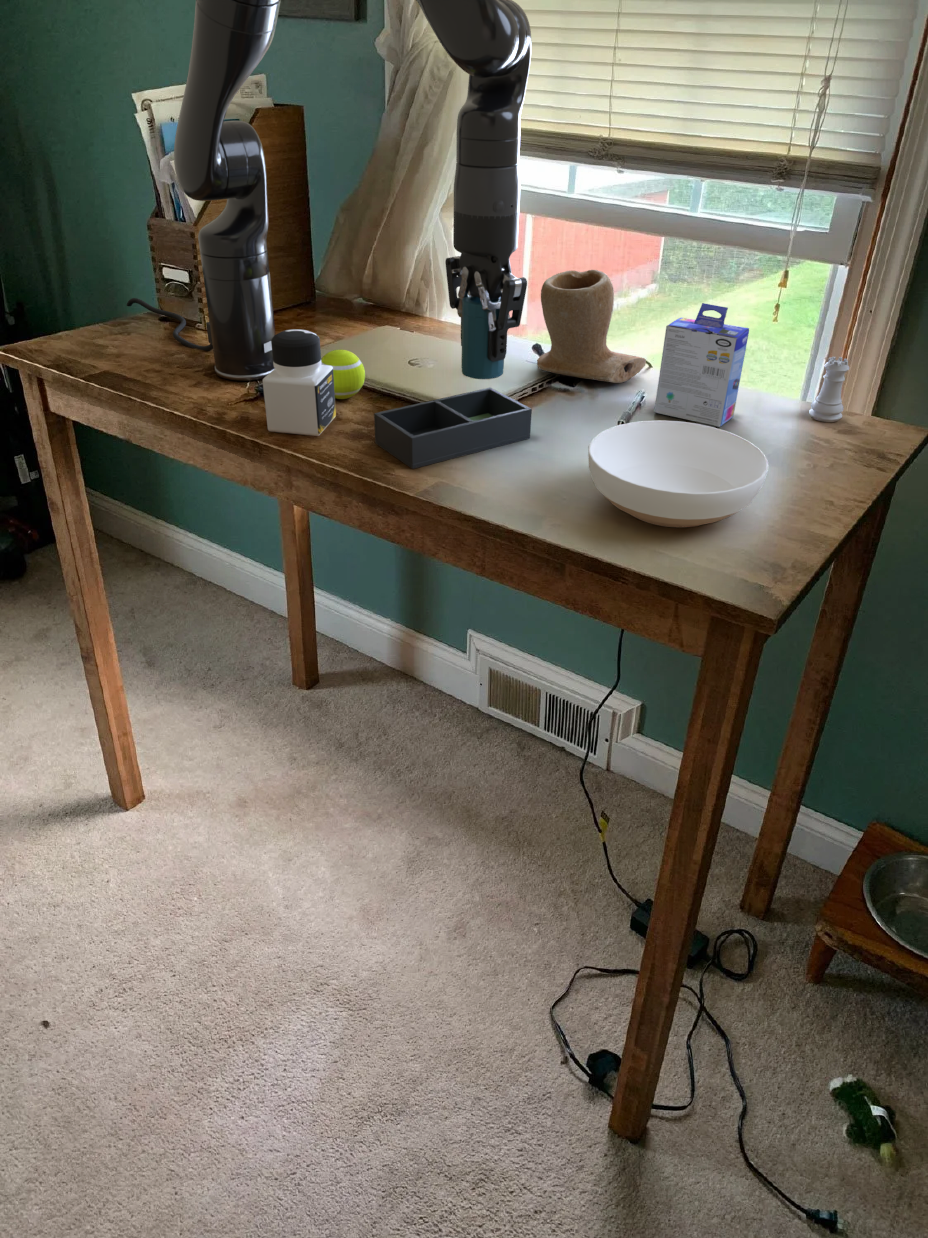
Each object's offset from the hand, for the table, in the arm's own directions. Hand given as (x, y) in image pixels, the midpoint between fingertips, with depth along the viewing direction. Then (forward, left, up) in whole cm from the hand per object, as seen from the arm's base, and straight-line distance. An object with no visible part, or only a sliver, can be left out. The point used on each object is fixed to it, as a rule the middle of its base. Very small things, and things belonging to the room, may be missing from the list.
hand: (482, 352), depth 117 cm
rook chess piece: (+20, +44, -11) cm, 49 cm away
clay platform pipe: (-10, +26, -11) cm, 30 cm away
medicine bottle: (-15, -18, -11) cm, 26 cm away
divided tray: (0, -4, -11) cm, 12 cm away
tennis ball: (-21, -9, -11) cm, 25 cm away
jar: (0, 0, -2) cm, 2 cm away
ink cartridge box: (+10, +29, -11) cm, 32 cm away
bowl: (+28, +7, -11) cm, 31 cm away
